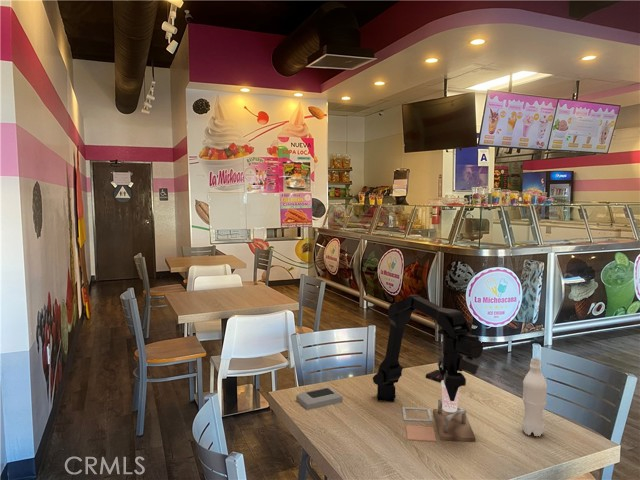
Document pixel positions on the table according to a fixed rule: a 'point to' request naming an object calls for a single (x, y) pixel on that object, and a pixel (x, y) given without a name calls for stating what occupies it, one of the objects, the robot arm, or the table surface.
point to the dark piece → (435, 376)
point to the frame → (417, 419)
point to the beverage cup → (448, 400)
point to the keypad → (318, 398)
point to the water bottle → (534, 399)
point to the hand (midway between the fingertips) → (450, 395)
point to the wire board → (453, 424)
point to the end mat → (420, 433)
